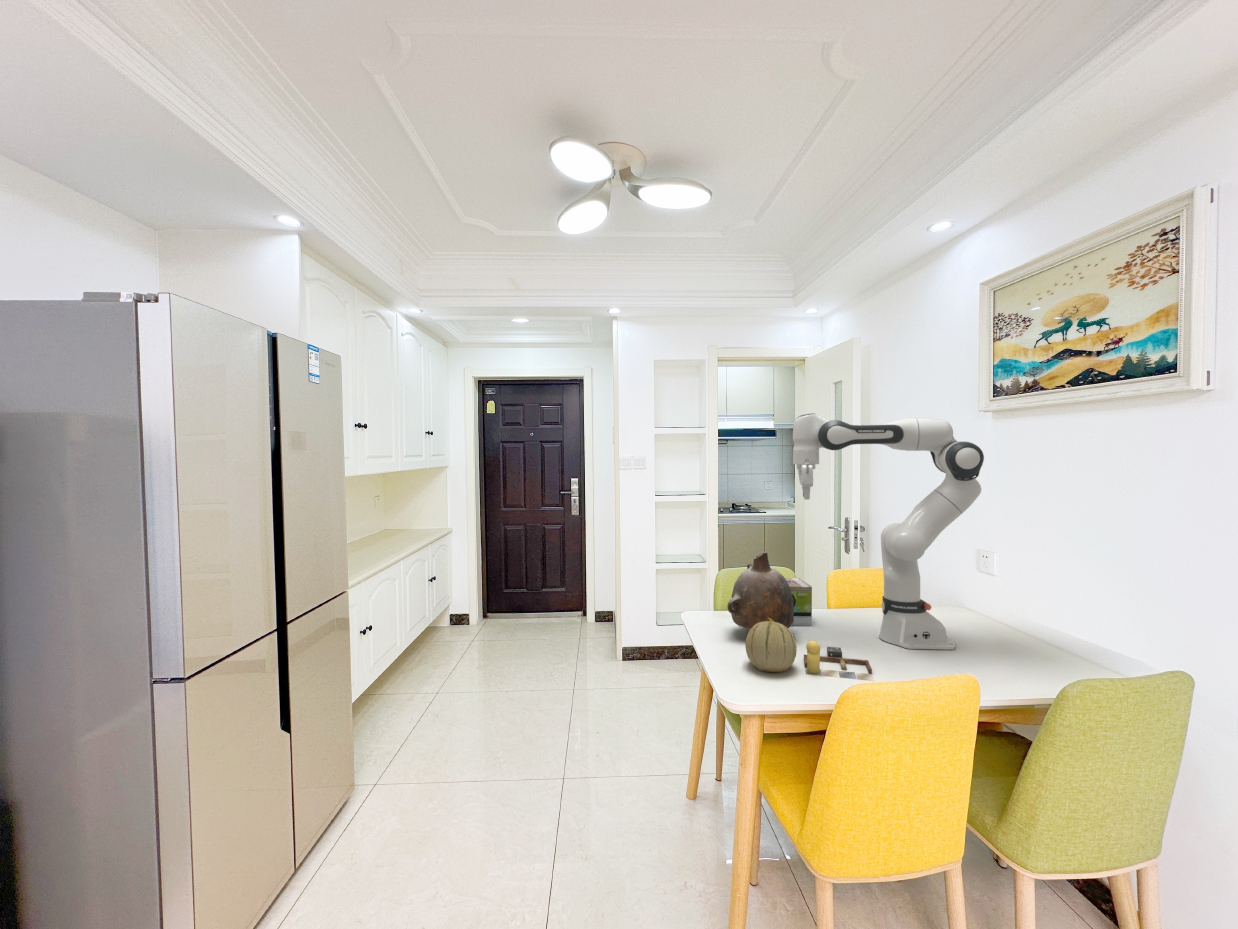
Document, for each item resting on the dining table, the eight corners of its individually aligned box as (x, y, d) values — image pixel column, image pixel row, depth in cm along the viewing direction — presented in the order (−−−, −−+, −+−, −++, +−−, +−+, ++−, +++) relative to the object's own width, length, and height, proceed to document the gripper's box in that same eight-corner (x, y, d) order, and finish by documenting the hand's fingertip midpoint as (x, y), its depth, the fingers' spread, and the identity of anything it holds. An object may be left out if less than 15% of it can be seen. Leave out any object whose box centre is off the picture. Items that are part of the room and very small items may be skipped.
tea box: (812, 626, 199) (812, 586, 199) (785, 626, 199) (785, 586, 199) (800, 614, 214) (799, 577, 214) (774, 614, 214) (774, 577, 214)
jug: (753, 621, 205) (753, 543, 204) (807, 634, 190) (806, 549, 189) (716, 637, 188) (715, 551, 187) (771, 652, 173) (770, 559, 172)
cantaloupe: (760, 684, 149) (760, 630, 149) (736, 664, 163) (736, 615, 163) (807, 678, 152) (807, 625, 152) (780, 659, 167) (780, 611, 166)
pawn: (820, 669, 155) (819, 639, 155) (821, 674, 152) (820, 643, 152) (806, 668, 157) (805, 638, 156) (806, 673, 153) (806, 642, 153)
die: (840, 660, 166) (840, 647, 166) (842, 665, 162) (842, 652, 162) (826, 659, 167) (826, 646, 167) (827, 664, 163) (827, 650, 163)
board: (868, 668, 159) (868, 660, 159) (875, 685, 147) (874, 676, 147) (803, 662, 164) (803, 654, 164) (805, 678, 152) (805, 669, 152)
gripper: (817, 459, 180) (817, 500, 180) (813, 459, 200) (813, 496, 200) (797, 459, 182) (797, 500, 182) (795, 459, 202) (795, 496, 202)
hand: (806, 498), depth 191 cm, fingers open, 8 cm apart
